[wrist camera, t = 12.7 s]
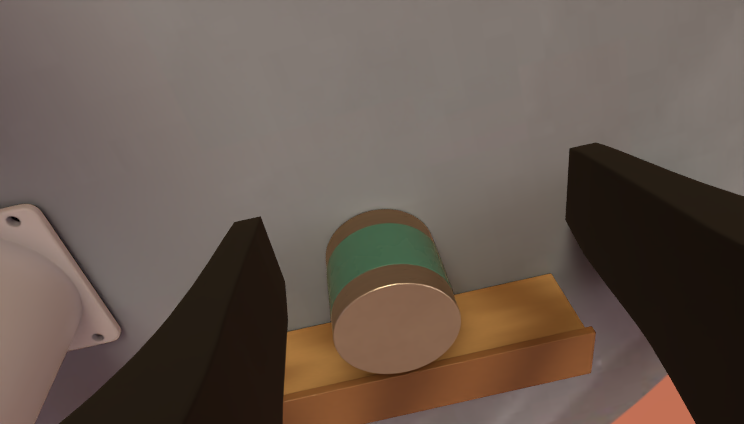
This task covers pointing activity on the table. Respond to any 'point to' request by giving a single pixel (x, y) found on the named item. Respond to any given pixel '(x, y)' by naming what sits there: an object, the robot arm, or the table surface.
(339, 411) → the wooden block
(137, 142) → the table surface
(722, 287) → the robot arm
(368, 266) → the tin can
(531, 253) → the table surface
